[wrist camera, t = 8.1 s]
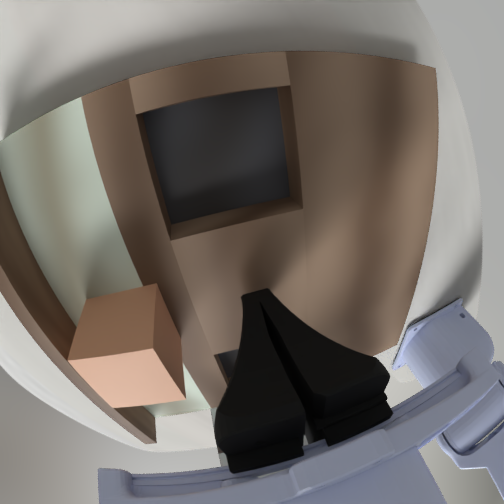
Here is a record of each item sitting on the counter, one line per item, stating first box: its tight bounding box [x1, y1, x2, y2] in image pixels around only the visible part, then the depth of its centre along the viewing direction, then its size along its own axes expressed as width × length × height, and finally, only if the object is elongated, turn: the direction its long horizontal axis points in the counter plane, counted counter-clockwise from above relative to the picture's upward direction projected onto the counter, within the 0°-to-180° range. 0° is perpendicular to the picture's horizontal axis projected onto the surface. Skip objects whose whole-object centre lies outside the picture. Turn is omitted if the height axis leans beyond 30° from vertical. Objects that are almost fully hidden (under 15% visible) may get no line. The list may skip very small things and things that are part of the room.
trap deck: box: [0, 51, 438, 444], centre depth 14 cm, size 23×22×4 cm
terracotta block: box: [67, 283, 186, 408], centre depth 11 cm, size 4×4×4 cm
